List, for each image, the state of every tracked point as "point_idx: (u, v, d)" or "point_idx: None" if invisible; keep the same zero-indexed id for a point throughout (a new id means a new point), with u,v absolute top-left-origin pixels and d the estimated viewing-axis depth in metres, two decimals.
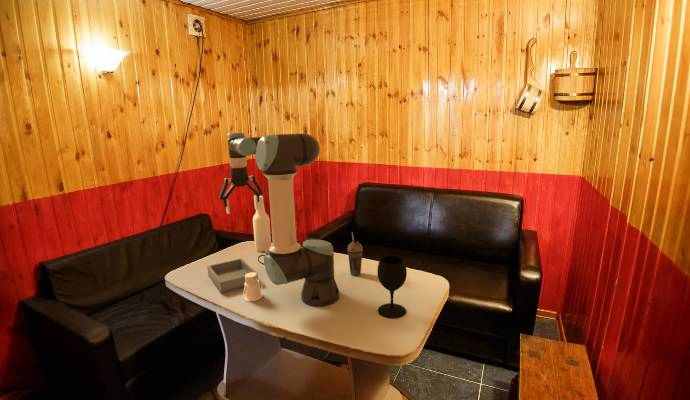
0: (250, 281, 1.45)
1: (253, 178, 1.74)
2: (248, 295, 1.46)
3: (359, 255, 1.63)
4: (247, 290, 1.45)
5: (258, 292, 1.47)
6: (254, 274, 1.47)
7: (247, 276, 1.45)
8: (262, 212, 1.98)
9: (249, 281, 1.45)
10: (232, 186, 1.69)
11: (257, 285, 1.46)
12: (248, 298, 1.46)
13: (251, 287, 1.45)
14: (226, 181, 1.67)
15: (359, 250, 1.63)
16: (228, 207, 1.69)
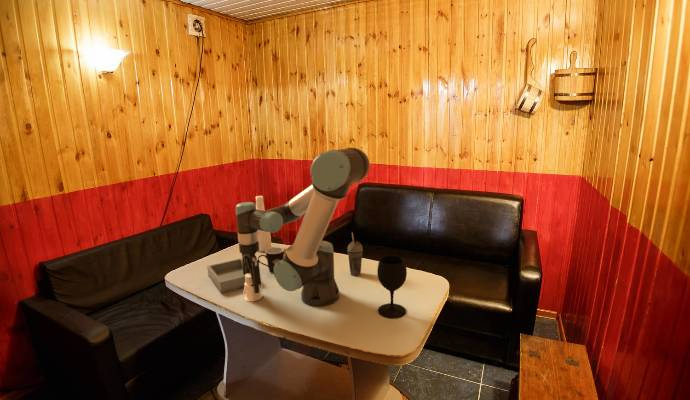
0: (250, 281, 1.45)
1: (252, 264, 1.40)
2: (248, 295, 1.46)
3: (359, 255, 1.63)
4: (247, 290, 1.45)
5: None
6: None
7: (247, 276, 1.45)
8: None
9: (249, 281, 1.45)
10: None
11: None
12: (248, 298, 1.46)
13: (251, 287, 1.45)
14: (242, 255, 1.50)
15: (359, 249, 1.63)
16: None
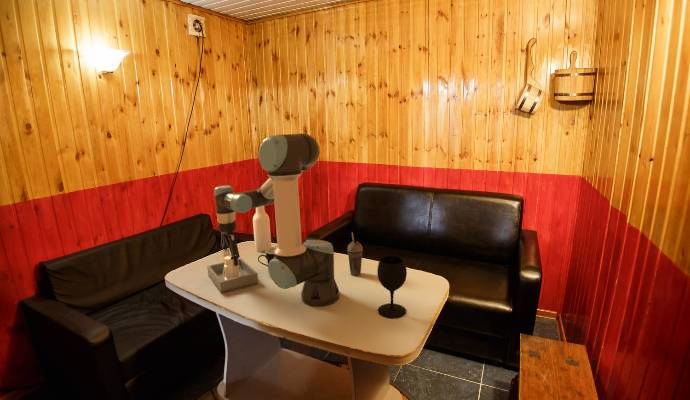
0: (229, 263, 1.62)
1: (229, 238, 1.55)
2: (227, 275, 1.62)
3: (359, 255, 1.63)
4: (226, 271, 1.62)
5: (236, 273, 1.64)
6: None
7: (226, 258, 1.62)
8: (262, 212, 1.98)
9: (228, 262, 1.61)
10: None
11: None
12: (227, 278, 1.63)
13: (230, 268, 1.61)
14: (221, 232, 1.66)
15: (359, 250, 1.63)
16: (223, 257, 1.69)
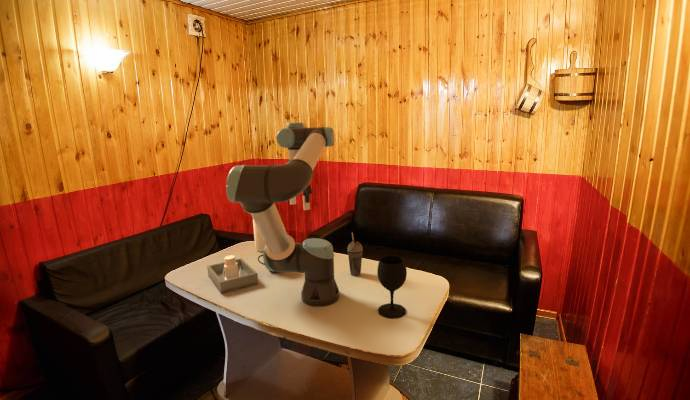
0: (229, 263, 1.61)
1: None
2: (227, 275, 1.62)
3: (359, 255, 1.63)
4: (226, 271, 1.62)
5: (236, 273, 1.64)
6: (233, 257, 1.63)
7: (226, 258, 1.62)
8: None
9: (228, 263, 1.61)
10: None
11: (235, 266, 1.63)
12: (227, 278, 1.63)
13: (230, 268, 1.61)
14: None
15: (359, 250, 1.63)
16: None
